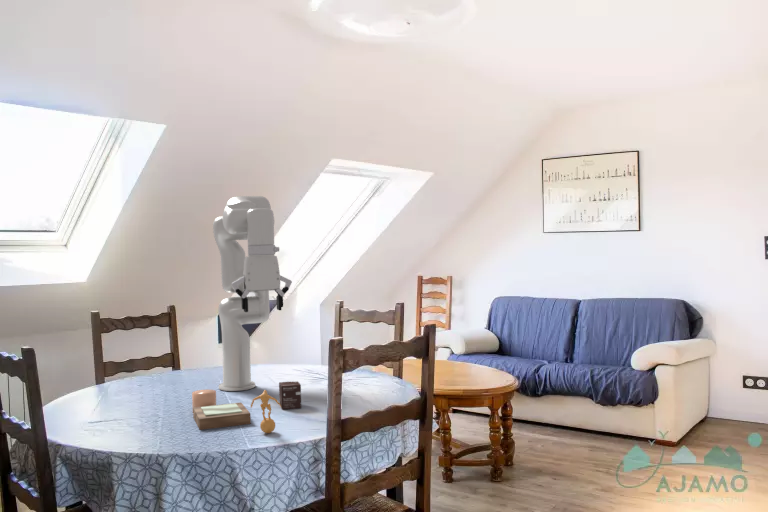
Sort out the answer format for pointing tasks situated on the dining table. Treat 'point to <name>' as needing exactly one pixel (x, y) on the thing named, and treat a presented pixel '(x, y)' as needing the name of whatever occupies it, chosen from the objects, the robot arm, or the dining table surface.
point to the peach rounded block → (203, 398)
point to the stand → (221, 416)
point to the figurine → (267, 423)
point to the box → (290, 395)
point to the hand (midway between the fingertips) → (262, 310)
